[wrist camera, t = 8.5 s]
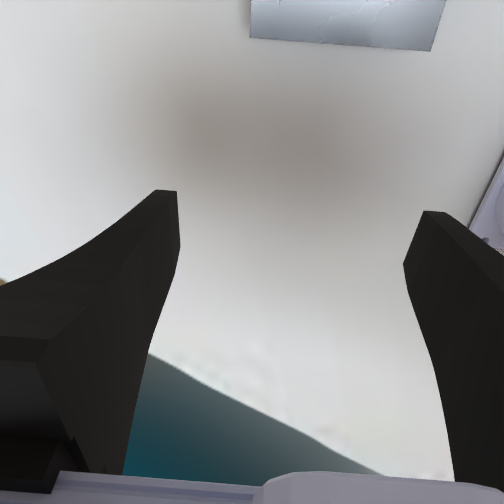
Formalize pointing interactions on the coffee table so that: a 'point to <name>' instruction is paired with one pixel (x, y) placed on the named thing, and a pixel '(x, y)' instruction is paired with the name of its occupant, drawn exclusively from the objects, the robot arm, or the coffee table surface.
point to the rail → (349, 22)
